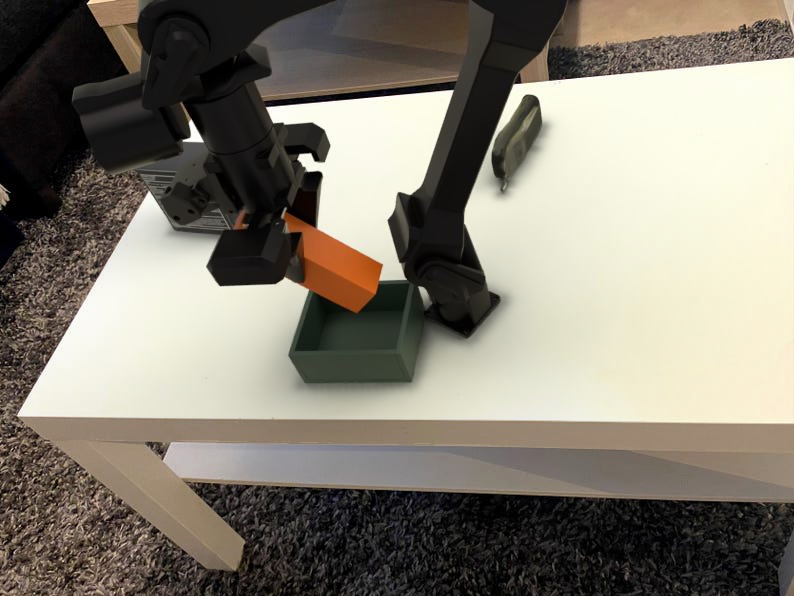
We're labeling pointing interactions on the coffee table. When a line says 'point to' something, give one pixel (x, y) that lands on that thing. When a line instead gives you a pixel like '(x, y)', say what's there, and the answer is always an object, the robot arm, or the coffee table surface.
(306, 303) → the bin
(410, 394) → the coffee table surface
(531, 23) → the robot arm
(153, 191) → the small box
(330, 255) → the orange rectangular block
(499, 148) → the olive green elongated pouch
